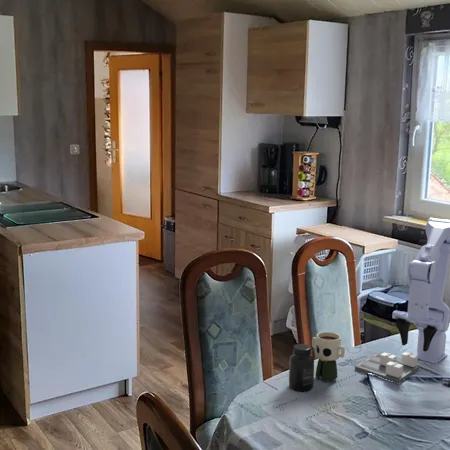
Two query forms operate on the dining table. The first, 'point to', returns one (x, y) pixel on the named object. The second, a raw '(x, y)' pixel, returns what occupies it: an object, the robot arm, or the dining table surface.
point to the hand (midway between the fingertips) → (415, 347)
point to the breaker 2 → (409, 359)
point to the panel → (384, 369)
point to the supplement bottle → (301, 369)
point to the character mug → (327, 354)
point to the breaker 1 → (394, 369)
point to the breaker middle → (387, 358)
